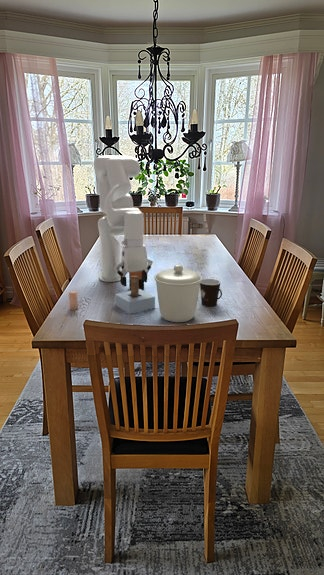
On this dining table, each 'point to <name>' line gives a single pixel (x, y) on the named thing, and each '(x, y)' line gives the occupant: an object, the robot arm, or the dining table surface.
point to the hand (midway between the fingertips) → (134, 283)
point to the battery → (141, 283)
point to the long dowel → (134, 286)
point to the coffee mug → (210, 292)
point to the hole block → (134, 301)
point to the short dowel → (73, 300)
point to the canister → (177, 293)
